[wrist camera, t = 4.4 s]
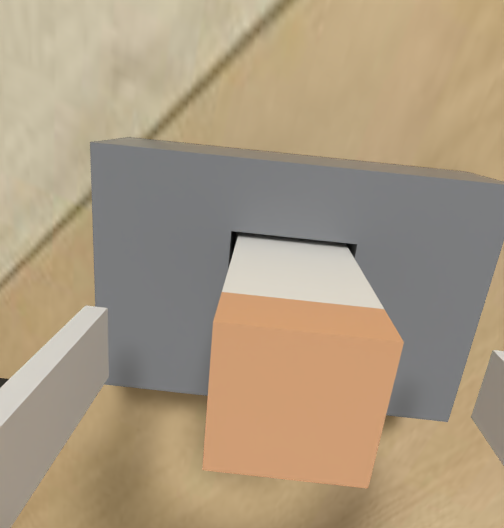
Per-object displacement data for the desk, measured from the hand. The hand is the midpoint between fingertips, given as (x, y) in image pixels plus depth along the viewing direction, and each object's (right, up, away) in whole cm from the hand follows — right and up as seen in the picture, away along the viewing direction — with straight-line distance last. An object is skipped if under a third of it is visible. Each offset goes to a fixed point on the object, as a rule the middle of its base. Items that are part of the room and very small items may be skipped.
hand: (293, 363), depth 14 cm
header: (0, +4, +10) cm, 10 cm away
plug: (0, +3, +9) cm, 9 cm away
